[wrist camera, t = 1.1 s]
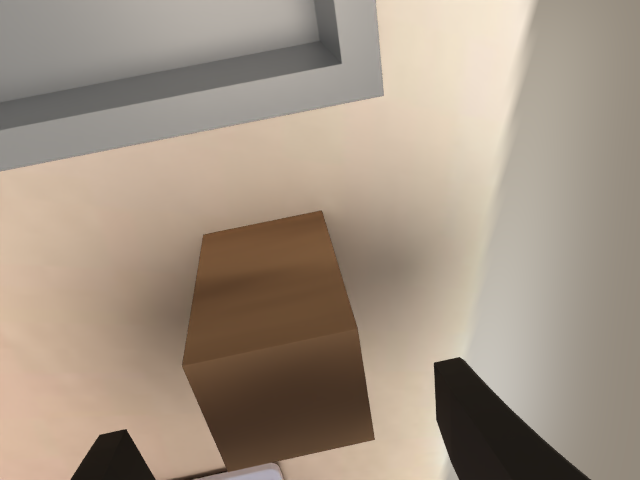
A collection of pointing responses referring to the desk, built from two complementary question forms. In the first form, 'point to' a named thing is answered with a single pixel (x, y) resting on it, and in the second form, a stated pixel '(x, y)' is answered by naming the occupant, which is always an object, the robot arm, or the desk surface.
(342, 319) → the walnut block
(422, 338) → the desk surface
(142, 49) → the grey bin
